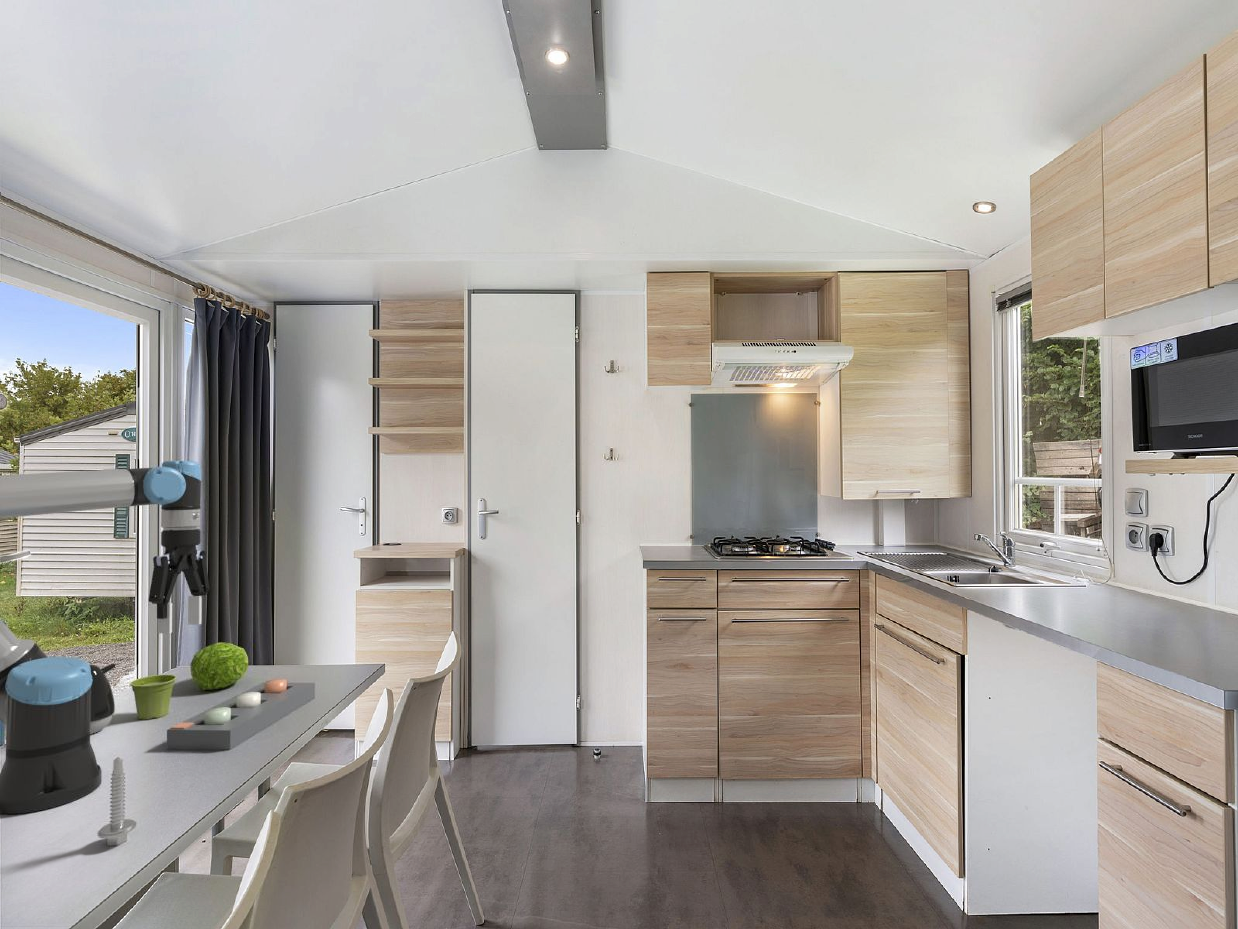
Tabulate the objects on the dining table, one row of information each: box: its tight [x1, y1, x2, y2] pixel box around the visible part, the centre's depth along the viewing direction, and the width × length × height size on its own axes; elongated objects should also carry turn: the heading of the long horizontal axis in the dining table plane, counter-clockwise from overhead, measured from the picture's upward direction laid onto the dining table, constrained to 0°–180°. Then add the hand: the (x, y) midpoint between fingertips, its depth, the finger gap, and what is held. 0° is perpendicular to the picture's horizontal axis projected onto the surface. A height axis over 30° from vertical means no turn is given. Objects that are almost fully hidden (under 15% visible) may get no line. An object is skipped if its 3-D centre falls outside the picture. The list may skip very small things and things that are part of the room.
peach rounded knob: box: [263, 678, 288, 693], centre depth 168 cm, size 5×5×4 cm
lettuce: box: [190, 642, 249, 691], centre depth 189 cm, size 13×22×14 cm
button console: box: [166, 682, 316, 751], centre depth 157 cm, size 34×14×4 cm, turn 176°
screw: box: [96, 756, 137, 847], centre depth 103 cm, size 13×5×5 cm
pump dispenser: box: [89, 662, 116, 735], centre depth 151 cm, size 10×10×15 cm
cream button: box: [236, 692, 261, 708], centre depth 157 cm, size 5×5×4 cm
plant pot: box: [129, 673, 178, 720], centre depth 162 cm, size 9×9×9 cm
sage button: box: [204, 707, 231, 725], centre depth 146 cm, size 5×5×4 cm
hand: (180, 628), depth 150 cm, fingers open, 9 cm apart
